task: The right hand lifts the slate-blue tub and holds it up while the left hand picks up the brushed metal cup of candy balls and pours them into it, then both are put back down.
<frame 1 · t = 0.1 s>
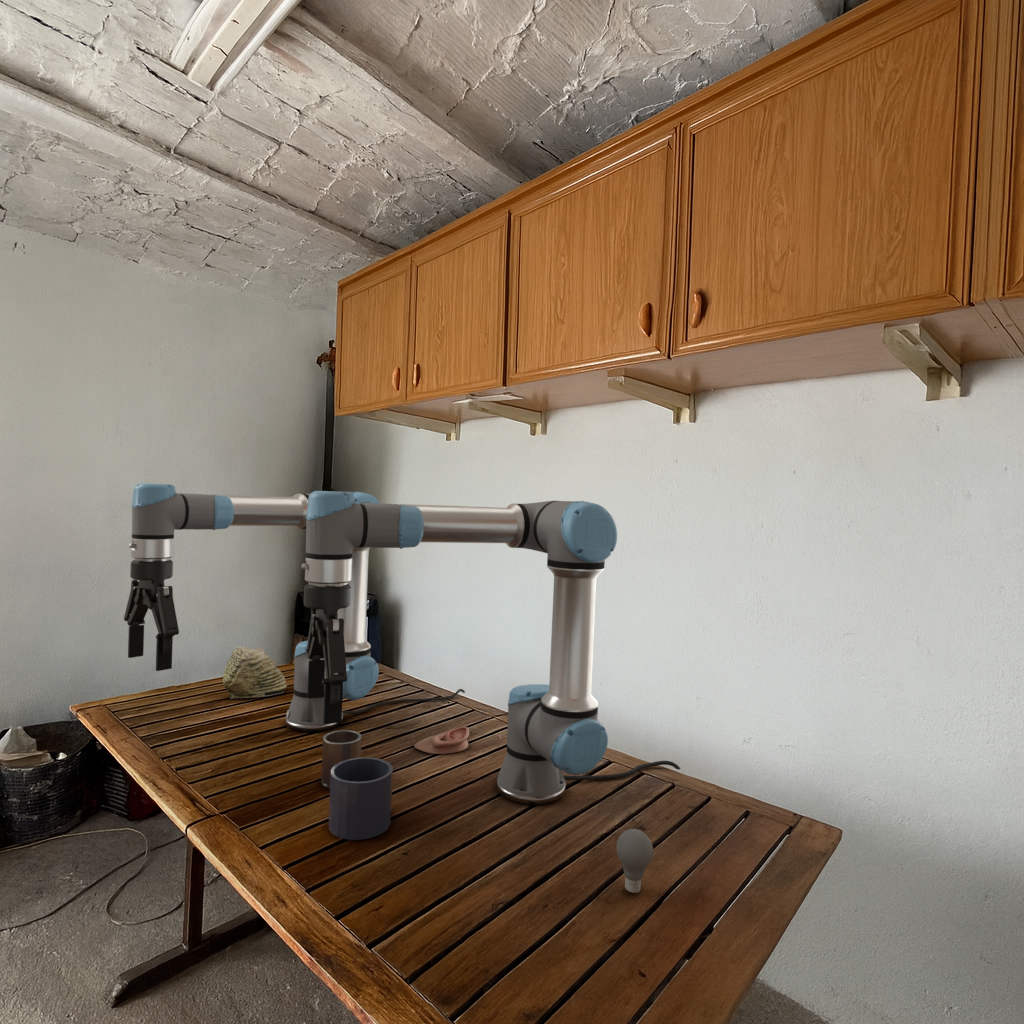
left hand: (149, 663, 129), 28 cm above the table, tool pointing down, fingers open, 13 cm apart
right hand: (323, 709, 106), 28 cm above the table, tool pointing down, fingers open, 13 cm apart
light bulb: (632, 891, 106), on the table
fossil: (254, 694, 198), on the table
tub: (359, 823, 123), on the table, 0 candy balls inside
cup: (340, 781, 141), on the table, 125 candy balls inside
anatomical model: (441, 746, 164), on the table
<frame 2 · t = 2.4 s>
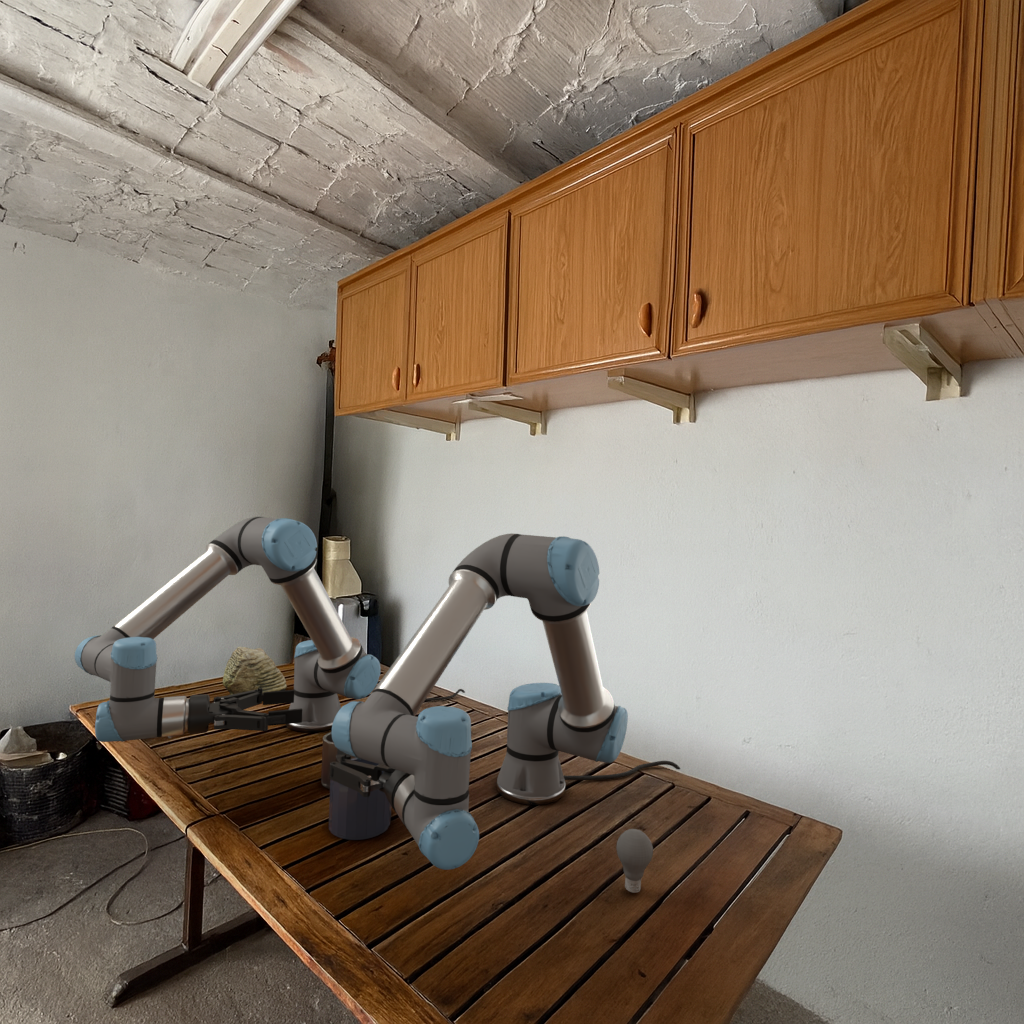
left hand: (298, 705, 137), 18 cm above the table, tool horizontal, fingers open, 13 cm apart
right hand: (377, 745, 115), 19 cm above the table, tool horizontal, fingers open, 13 cm apart
nothing on the table moved.
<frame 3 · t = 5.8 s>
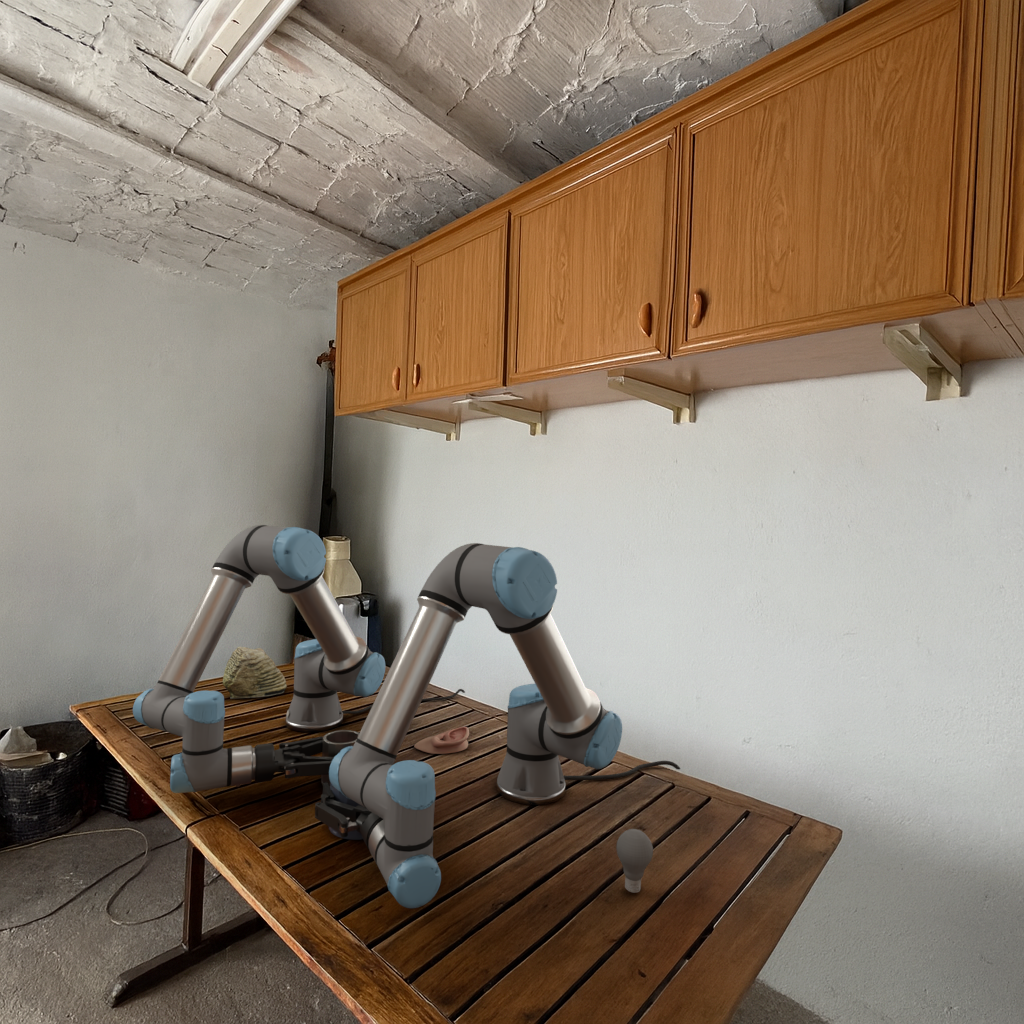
left hand: (361, 749, 143), 7 cm above the table, tool horizontal, fingers closed on cup, 8 cm apart
right hand: (356, 783, 126), 6 cm above the table, tool horizontal, fingers closed on tub, 12 cm apart
tub: (359, 823, 124), on the table, 0 candy balls inside, touching right hand
cup: (340, 781, 141), on the table, 125 candy balls inside, touching left hand
everything else where it was.
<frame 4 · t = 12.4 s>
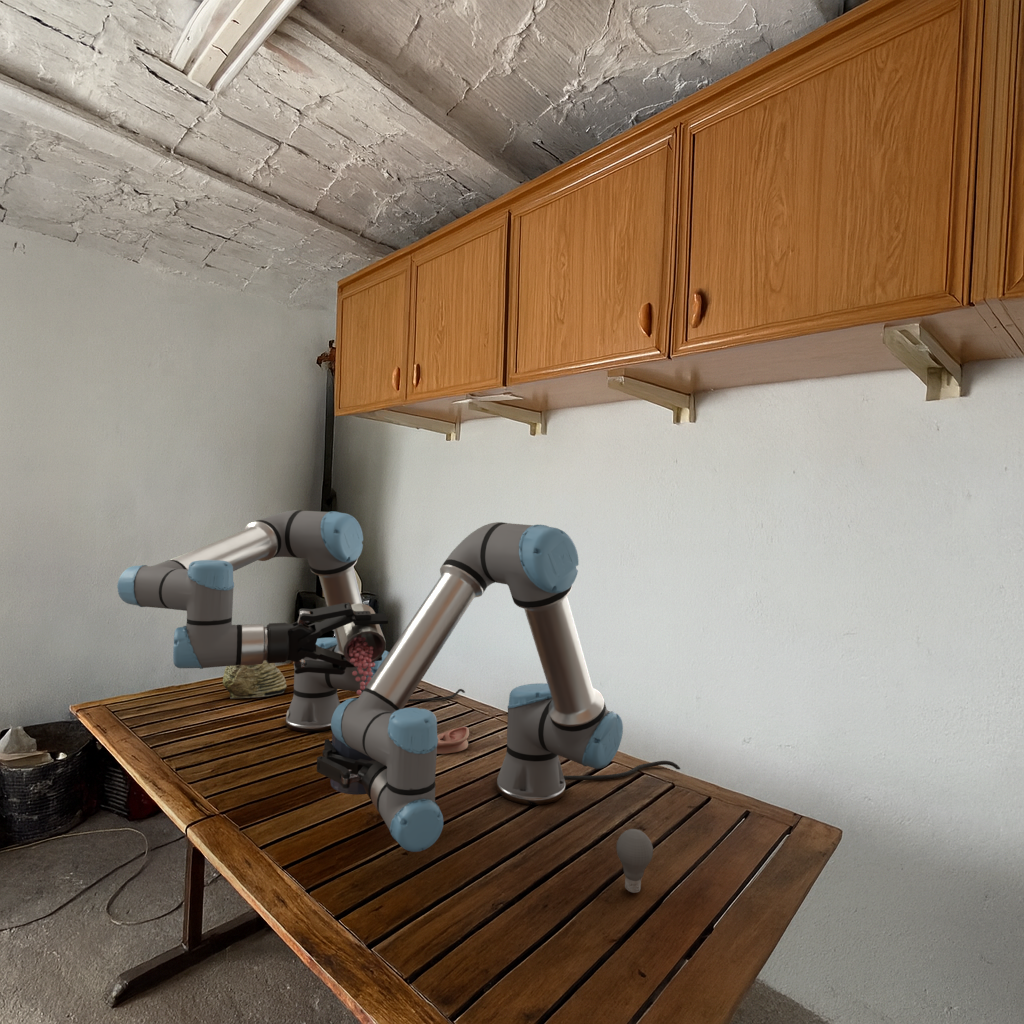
left hand: (383, 637, 130), 35 cm above the table, tool horizontal, fingers closed on cup, 8 cm apart
right hand: (358, 741, 126), 15 cm above the table, tool horizontal, fingers closed on tub, 12 cm apart
tub: (361, 780, 123), point 8 cm above the table, 44 candy balls inside, touching right hand
cup: (355, 620, 134), point 38 cm above the table, tilted 113°, 58 candy balls inside, touching left hand
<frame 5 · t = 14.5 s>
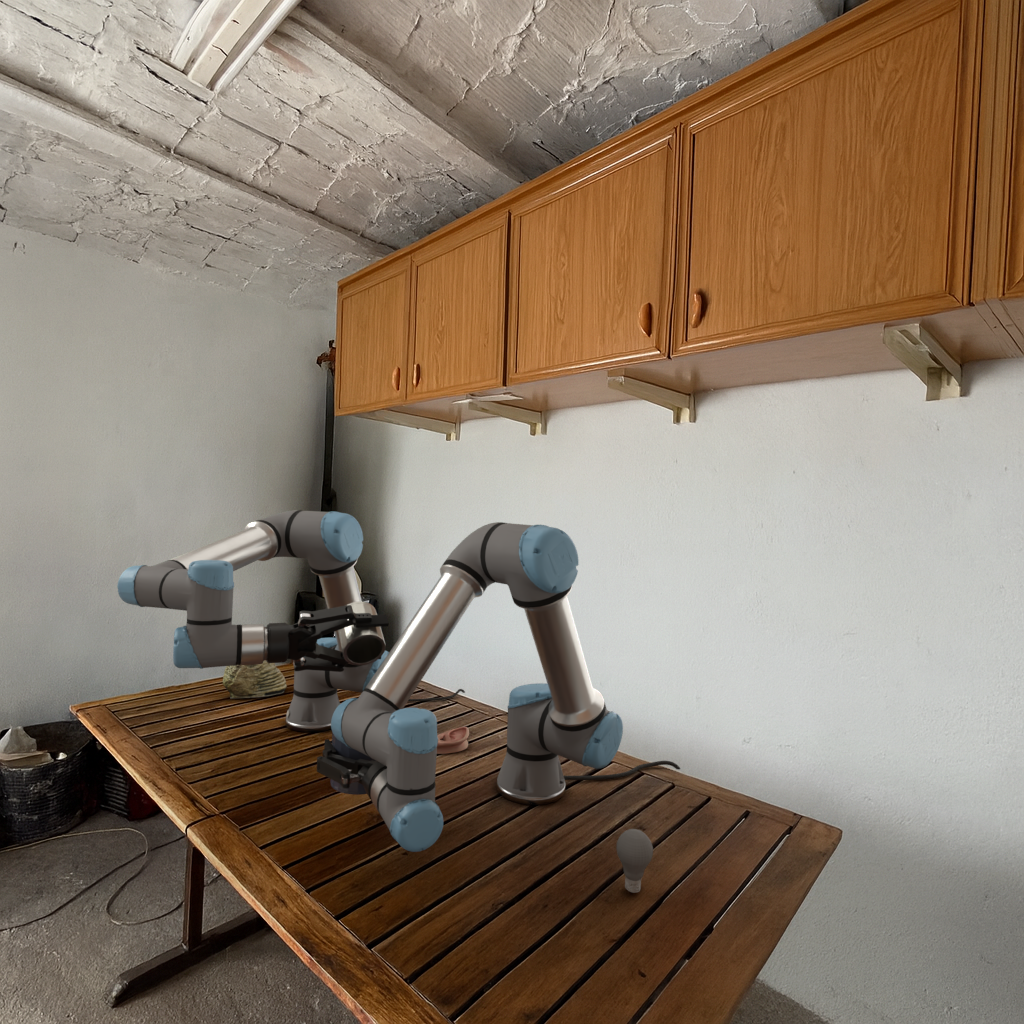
left hand: (383, 637, 130), 35 cm above the table, tool horizontal, fingers closed on cup, 8 cm apart
right hand: (358, 741, 126), 15 cm above the table, tool horizontal, fingers closed on tub, 12 cm apart
tub: (361, 780, 123), point 8 cm above the table, 125 candy balls inside, touching right hand
cup: (356, 616, 133), point 39 cm above the table, tilted 121°, 0 candy balls inside, touching left hand
when the right hand's fingers open (7 cm above the table, at t = 18.8 s): tub stays where it is, on the table.
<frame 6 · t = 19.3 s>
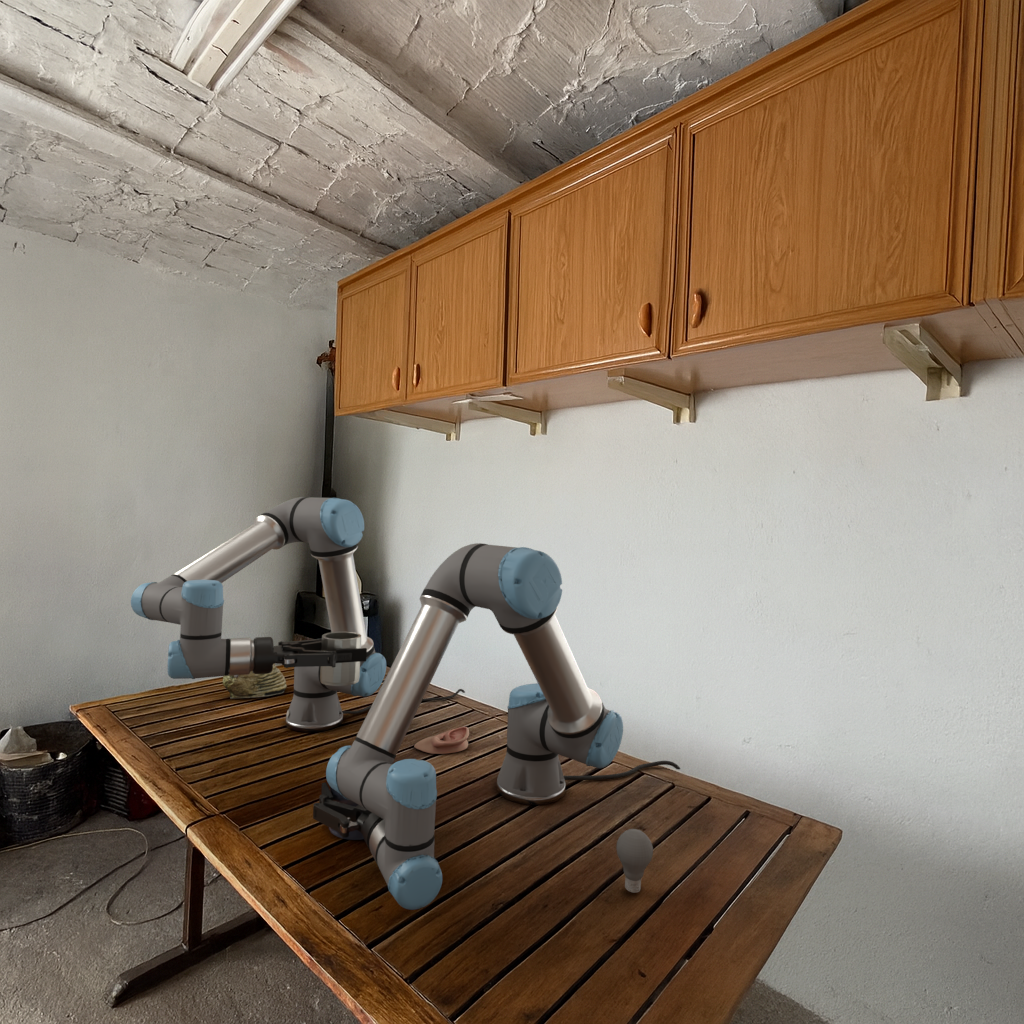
left hand: (361, 649, 141), 30 cm above the table, tool horizontal, fingers closed on cup, 8 cm apart
right hand: (359, 783, 124), 7 cm above the table, tool horizontal, fingers open, 13 cm apart
tub: (359, 823, 124), on the table, 125 candy balls inside
cup: (339, 680, 140), point 23 cm above the table, 0 candy balls inside, touching left hand
when the left hand's fingers open (7 cm above the table, at t = 23.1 s): cup stays where it is, on the table.
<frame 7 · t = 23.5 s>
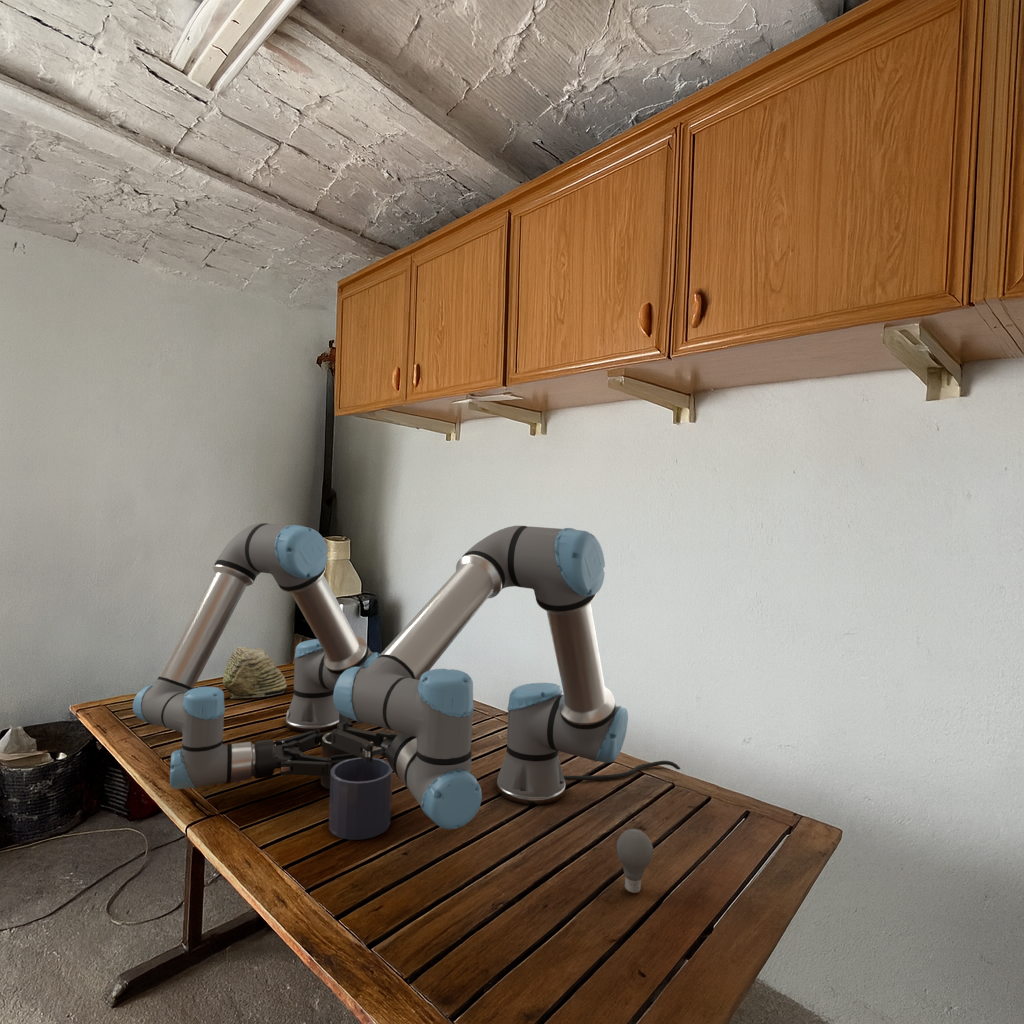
left hand: (355, 747, 143), 7 cm above the table, tool horizontal, fingers open, 13 cm apart
right hand: (379, 715, 115), 24 cm above the table, tool horizontal, fingers open, 13 cm apart
cup: (340, 781, 141), on the table, 0 candy balls inside
everything else where it was.
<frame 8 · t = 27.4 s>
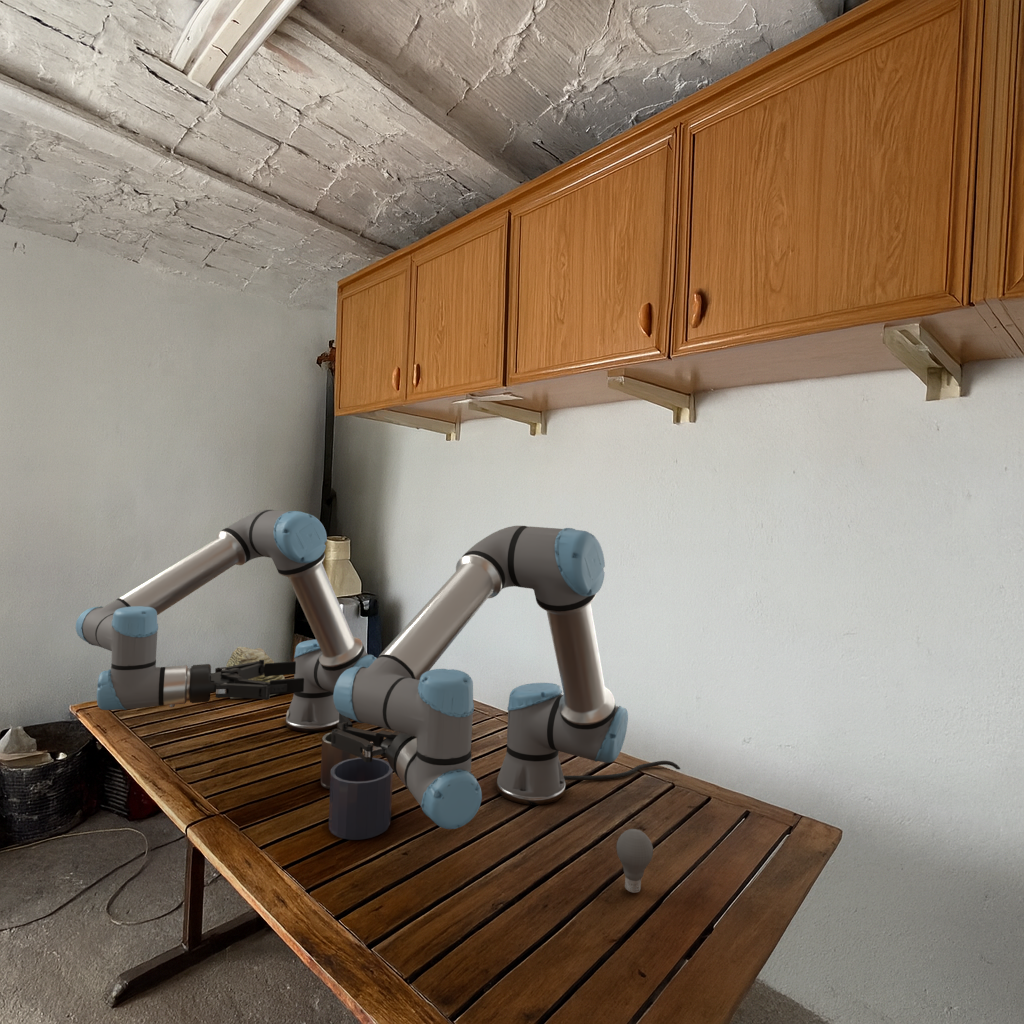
left hand: (299, 675, 137), 24 cm above the table, tool horizontal, fingers open, 13 cm apart
right hand: (379, 715, 115), 24 cm above the table, tool horizontal, fingers open, 13 cm apart
nothing on the table moved.
at the end: 125 of the 125 candy balls in the tub; tub was lifted up to 8 cm off the table; tub tilted 0°; cup tilted 0°; the left hand is holding nothing; the right hand is holding nothing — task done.
